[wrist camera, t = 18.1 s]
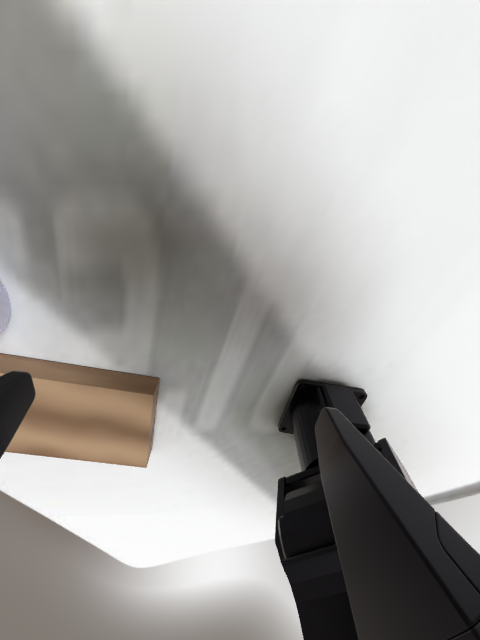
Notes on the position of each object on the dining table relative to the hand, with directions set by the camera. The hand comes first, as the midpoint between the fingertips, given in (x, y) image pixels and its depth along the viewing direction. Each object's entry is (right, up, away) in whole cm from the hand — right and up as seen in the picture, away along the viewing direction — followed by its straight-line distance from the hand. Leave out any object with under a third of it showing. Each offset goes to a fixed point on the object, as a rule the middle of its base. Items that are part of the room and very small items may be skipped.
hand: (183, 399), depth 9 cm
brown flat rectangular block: (-16, -5, +16) cm, 23 cm away
